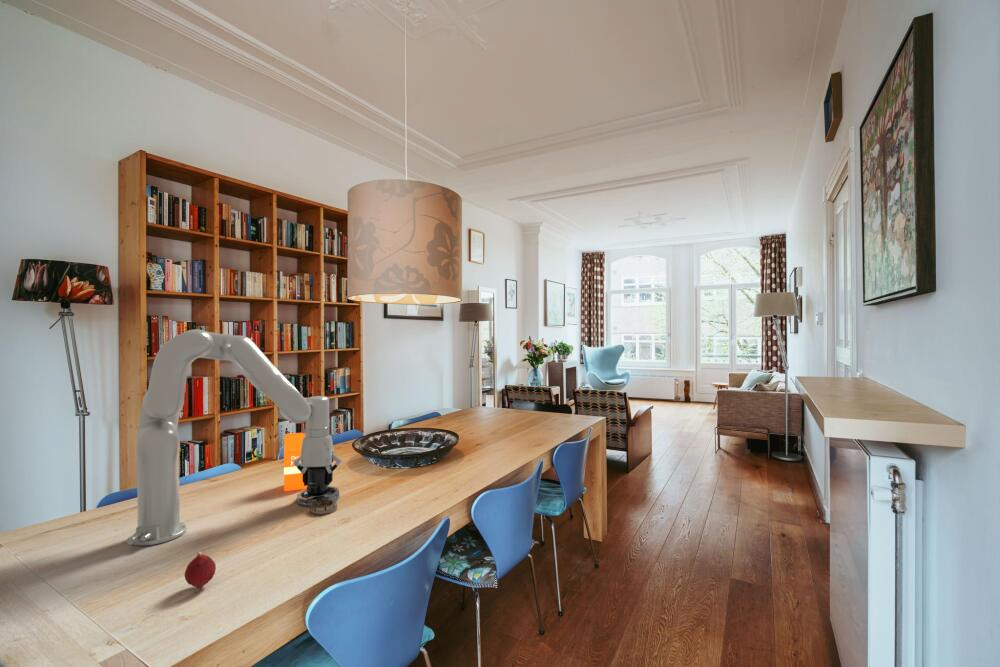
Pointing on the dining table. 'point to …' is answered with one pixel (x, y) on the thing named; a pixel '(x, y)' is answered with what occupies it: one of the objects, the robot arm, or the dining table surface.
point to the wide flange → (316, 497)
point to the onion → (200, 570)
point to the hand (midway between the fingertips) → (317, 483)
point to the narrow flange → (324, 507)
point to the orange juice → (291, 453)
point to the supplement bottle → (316, 481)
